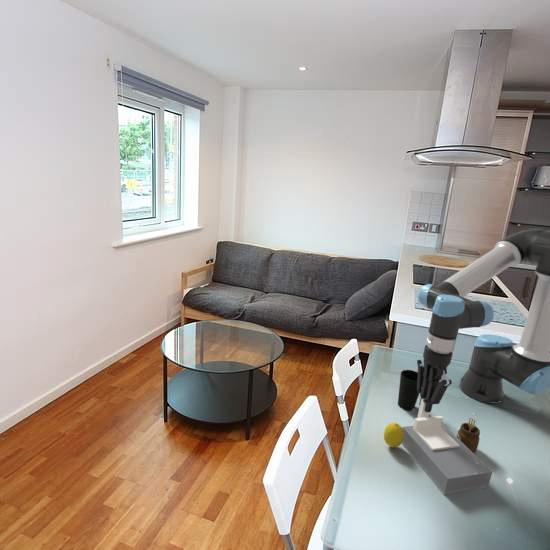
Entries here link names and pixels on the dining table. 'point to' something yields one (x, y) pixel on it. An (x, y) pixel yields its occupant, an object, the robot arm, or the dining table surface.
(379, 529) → the dining table surface
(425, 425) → the panel
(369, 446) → the dining table surface
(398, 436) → the lemon
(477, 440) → the utensil holder
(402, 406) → the cup
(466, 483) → the socket block
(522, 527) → the dining table surface
